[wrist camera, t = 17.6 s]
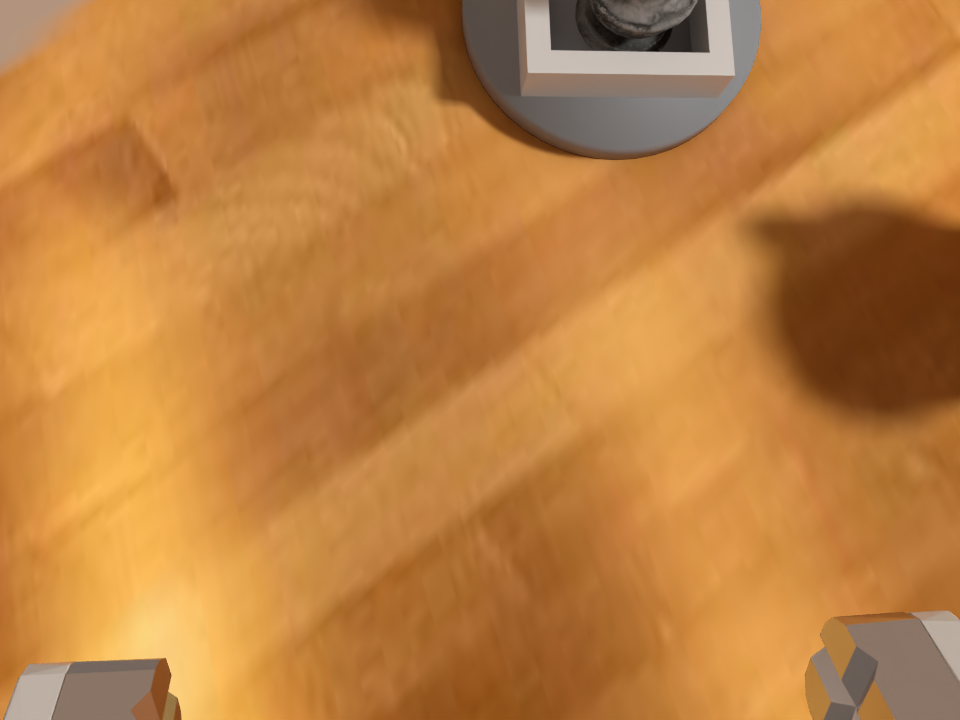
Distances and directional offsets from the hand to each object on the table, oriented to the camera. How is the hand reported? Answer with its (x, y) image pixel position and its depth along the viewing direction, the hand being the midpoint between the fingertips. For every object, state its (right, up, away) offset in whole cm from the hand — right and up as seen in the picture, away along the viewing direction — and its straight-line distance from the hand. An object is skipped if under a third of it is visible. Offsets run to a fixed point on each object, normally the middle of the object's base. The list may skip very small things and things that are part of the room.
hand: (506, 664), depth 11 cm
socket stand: (+7, +22, +38) cm, 44 cm away
